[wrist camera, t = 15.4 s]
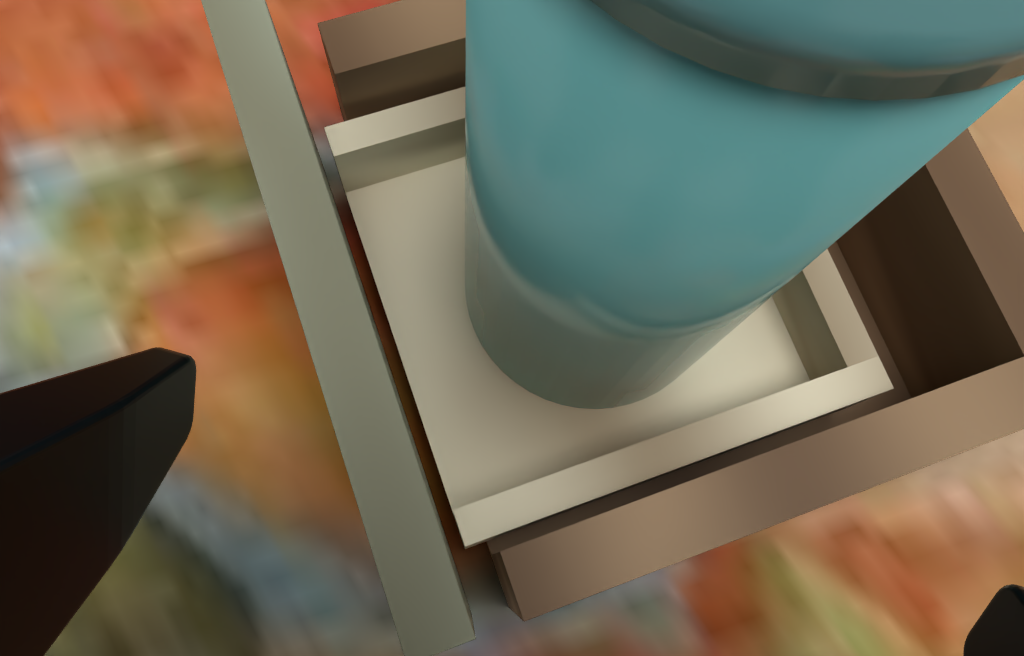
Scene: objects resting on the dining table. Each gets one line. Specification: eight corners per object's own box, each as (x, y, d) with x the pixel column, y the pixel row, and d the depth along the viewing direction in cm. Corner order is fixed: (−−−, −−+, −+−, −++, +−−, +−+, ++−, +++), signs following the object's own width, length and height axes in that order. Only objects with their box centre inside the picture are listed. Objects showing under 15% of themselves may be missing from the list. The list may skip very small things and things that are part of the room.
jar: (597, 470, 18) (966, 219, 5) (405, 284, 19) (269, -366, 6) (770, 285, 19) (1433, -314, 6) (583, 119, 20) (811, -723, 7)
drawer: (659, 52, 23) (742, -163, 16) (848, 469, 20) (1043, 420, 13) (279, 164, 21) (194, -22, 15) (427, 629, 19) (407, 665, 12)
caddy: (758, 22, 24) (835, -118, 19) (961, 435, 21) (1110, 394, 16) (349, 142, 22) (317, 23, 17) (508, 607, 19) (524, 621, 14)
